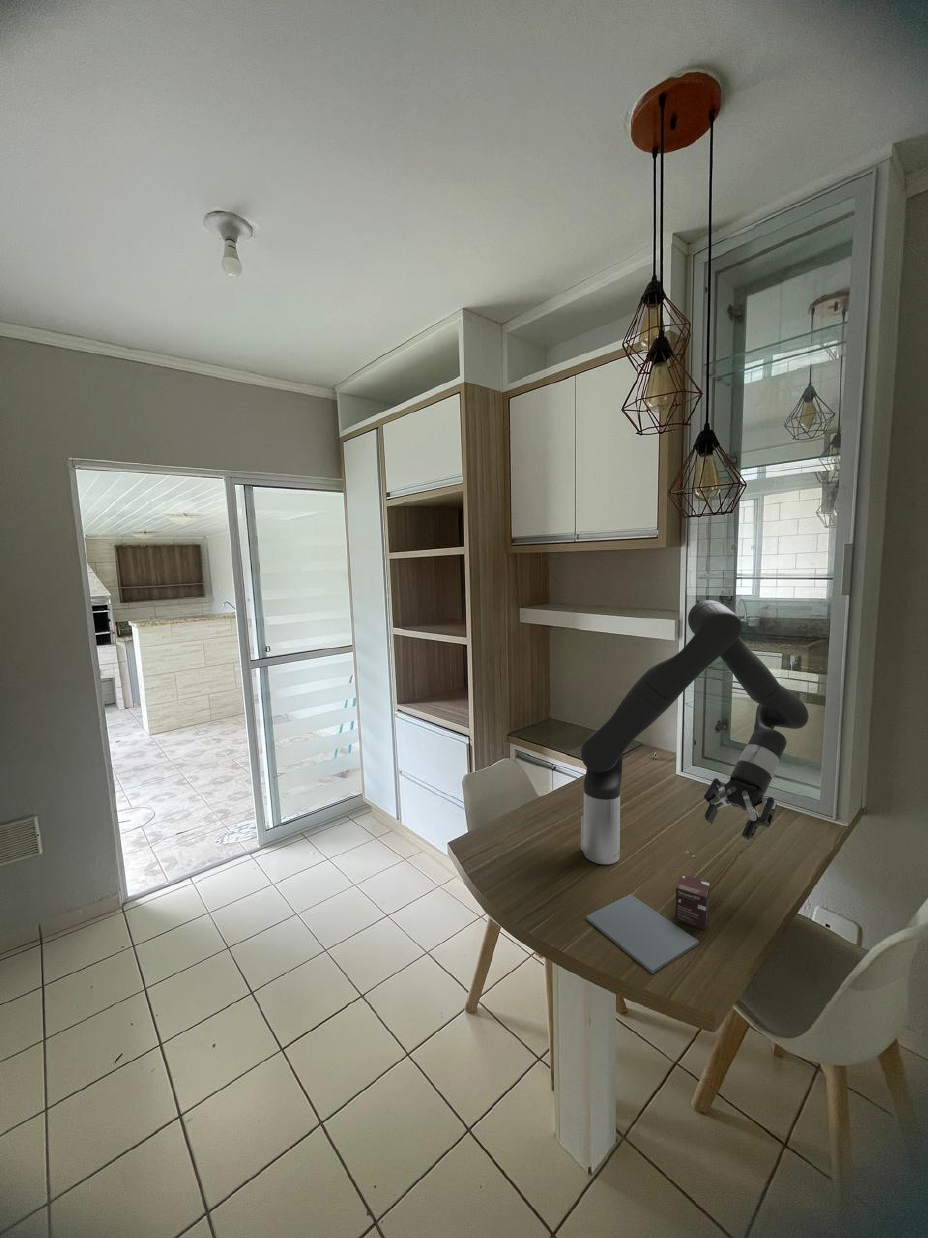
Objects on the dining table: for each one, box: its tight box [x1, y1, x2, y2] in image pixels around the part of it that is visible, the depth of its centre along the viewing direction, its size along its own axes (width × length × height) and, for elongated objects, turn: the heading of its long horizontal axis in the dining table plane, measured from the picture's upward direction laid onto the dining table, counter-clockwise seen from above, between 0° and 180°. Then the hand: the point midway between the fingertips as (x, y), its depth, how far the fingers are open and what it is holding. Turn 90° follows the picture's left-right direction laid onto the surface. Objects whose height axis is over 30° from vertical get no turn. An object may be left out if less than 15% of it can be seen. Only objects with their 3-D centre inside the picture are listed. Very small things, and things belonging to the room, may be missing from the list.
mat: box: [585, 893, 700, 974], centre depth 99 cm, size 17×14×1 cm
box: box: [674, 873, 711, 930], centre depth 103 cm, size 6×6×7 cm
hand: (726, 829), depth 108 cm, fingers open, 8 cm apart
